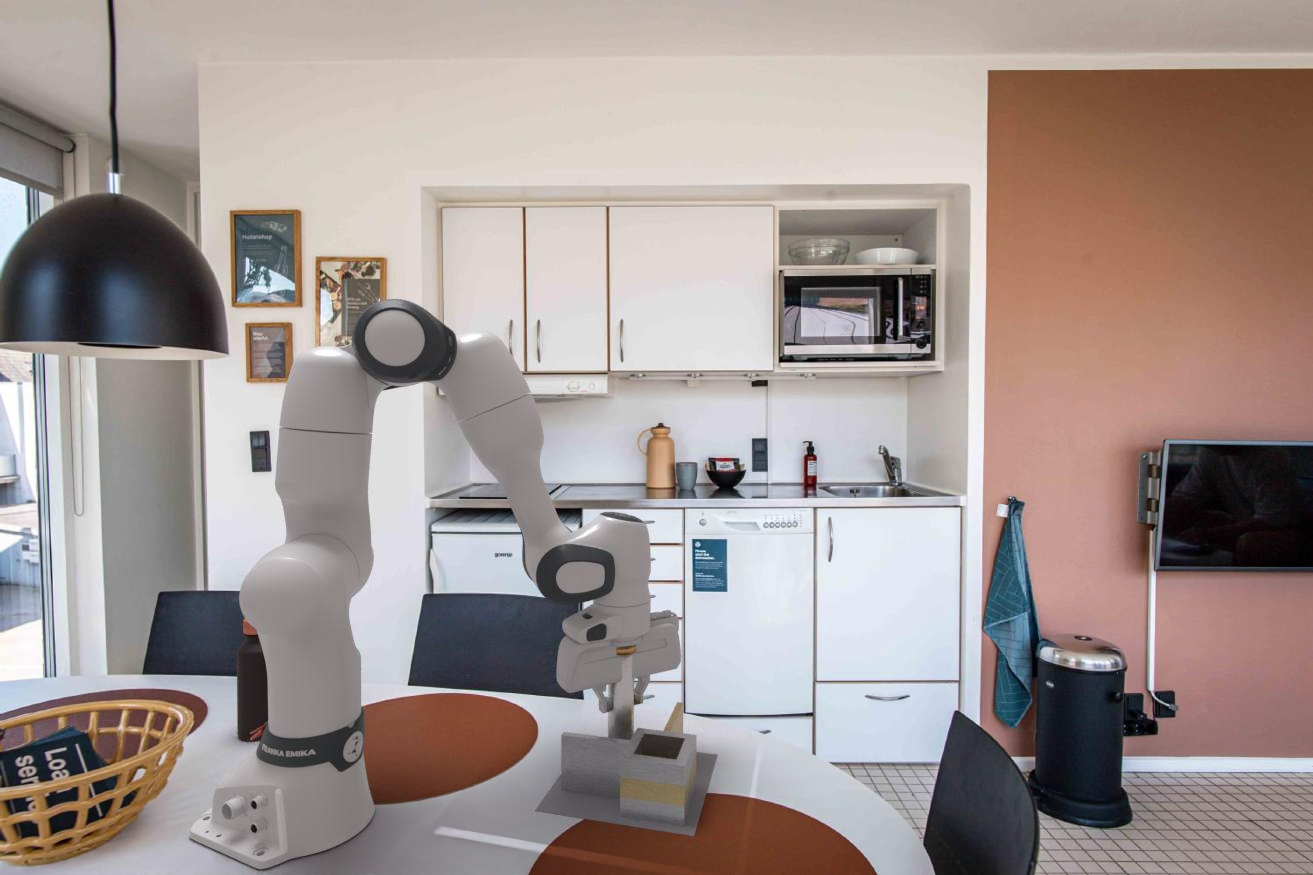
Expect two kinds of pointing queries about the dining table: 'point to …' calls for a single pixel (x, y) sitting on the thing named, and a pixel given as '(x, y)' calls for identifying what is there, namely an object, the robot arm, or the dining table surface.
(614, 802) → the base board
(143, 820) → the dining table surface
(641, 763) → the hinge
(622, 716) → the hinge pin
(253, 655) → the bottle
